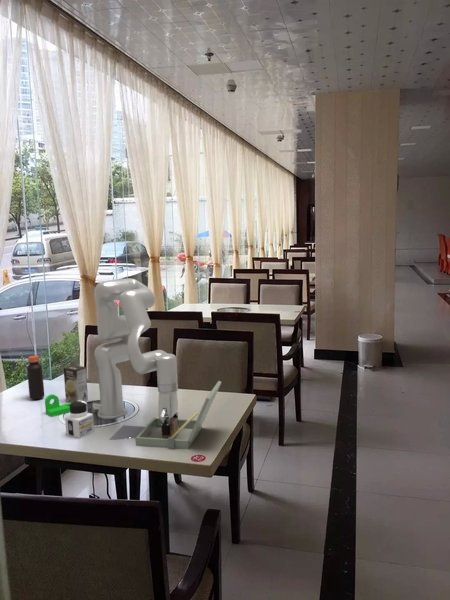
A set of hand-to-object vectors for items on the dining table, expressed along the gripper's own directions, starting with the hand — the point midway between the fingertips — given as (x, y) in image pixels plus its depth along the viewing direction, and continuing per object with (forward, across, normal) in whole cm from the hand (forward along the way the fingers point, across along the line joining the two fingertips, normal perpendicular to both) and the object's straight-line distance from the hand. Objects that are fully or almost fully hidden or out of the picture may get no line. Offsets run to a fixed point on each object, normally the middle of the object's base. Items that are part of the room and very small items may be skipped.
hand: (170, 429), depth 201 cm
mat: (+3, -1, -17) cm, 18 cm away
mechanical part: (+3, -21, -58) cm, 61 cm away
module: (+3, 0, 0) cm, 3 cm away
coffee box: (+2, -35, -57) cm, 67 cm away
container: (+3, +1, -37) cm, 37 cm away
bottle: (+2, -37, -79) cm, 88 cm away
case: (+3, 0, 0) cm, 3 cm away
